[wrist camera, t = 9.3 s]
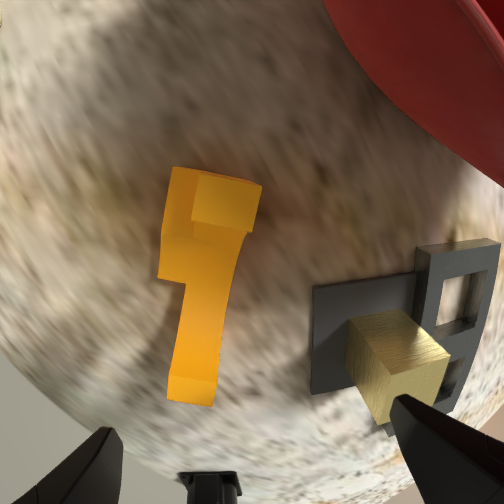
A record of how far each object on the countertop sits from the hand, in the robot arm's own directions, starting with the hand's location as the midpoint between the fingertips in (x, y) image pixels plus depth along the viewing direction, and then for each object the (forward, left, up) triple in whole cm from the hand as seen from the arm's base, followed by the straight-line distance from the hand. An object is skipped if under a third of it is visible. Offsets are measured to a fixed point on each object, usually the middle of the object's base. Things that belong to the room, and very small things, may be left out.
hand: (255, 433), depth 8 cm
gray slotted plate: (-9, -18, -12) cm, 24 cm away
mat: (-6, -10, -12) cm, 17 cm away
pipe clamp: (+1, +2, -13) cm, 13 cm away
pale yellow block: (-6, -10, -12) cm, 17 cm away
